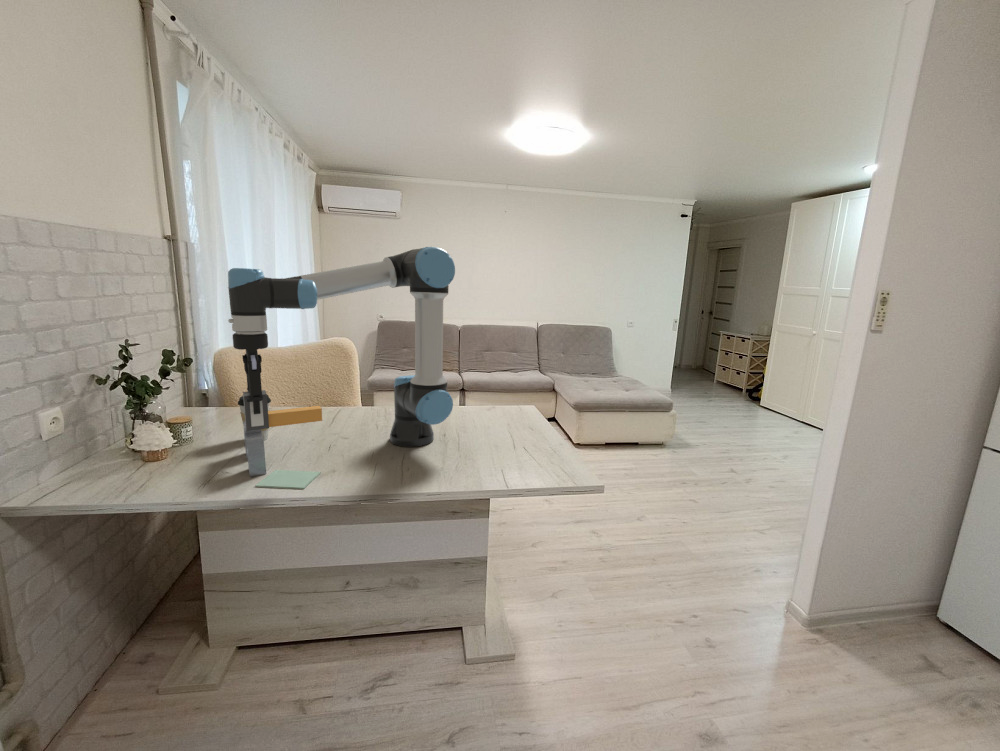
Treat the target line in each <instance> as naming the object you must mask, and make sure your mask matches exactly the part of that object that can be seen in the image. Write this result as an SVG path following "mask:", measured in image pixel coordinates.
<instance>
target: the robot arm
mask: <svg viewBox="0 0 1000 751" xmlns="http://www.w3.org/2000/svg"><path fill="white" fill-rule="evenodd" d="M227 272H228V273H227V279H228V282H227V284H228V286H227V288H228V297H229V298H228V299H229V309H230V316H231V318H228V320H227V321H228V323H229V324H230V323H231V328H232V329H231V330H232V332H234V333H233V334H232V346H233V348H234V349H235V350H239V351H240V350H245V353H244V355H243V354H242V362H243V366H244V372H245V374H246V375H245V376H246V385H247V387H246V390H247V391H246V392H248V391H250V399H249V400H247V402H250V413H251V426H252V427H254V426H262V425H264V419H263V405H262V399H263V396H262V377H261V376H262V375H261V373H262V362H263V360H262V356H261V354H258V350H263V349H266V348H268V347H269V341H268V340H269V338H268V337H269V336H268V334H267V333H266V331H268V318H267V317H268V316H267V309H288V310H289V309H294V310H295V309H296V310H297V309H299V310H300V309H301V310H305V309H308V310H309V309H314V308H316V307H317V304H318V301H319V300H323V299H324V300H325V299H328V298H332V297H333V298H334V297H338V296H343V295H348V294H353V293H357V292H362V291H363V292H364V291H367V290H372V289H377V288H382V287H388V286H389V287H391V288H392V289H393V288H399V287H409V294H411V296H413V298H414V342H415V343H414V356H415V357H414V359H415V360H414V362H415V363H414V365H415V368H414V372H415V374H412V375H410V374H409V375H401V376H398V377H396V378H395V379H394V382H393V384H394V386H393V394H394V395H393V396H394V398H393V399H394V400H393V401H394V421H393V424H392V427H391V430H390V433H389V441H390V443H391V444H393V445H395V446H397V447H405V448H412V447H413V448H414V447H422V446H426V445H428V444H430V443H432V442H433V441H434V439H435V437H434V435H435V434H434V430H433V428H432V425H439V424H441V423H442V422H444V421H446V420H447V419H448V417H450V415H451V413H452V411H453V408H454V407H453V406H454V400H453V398H452V396H451V395H450V393H449V392H448V380H447V378H446V377H444V375H443V371H444V370H443V365H444V364H443V362H444V360H443V357H444V356H443V355H444V348H443V347H444V344H443V343H444V299H445V298H446V297H447V296H448V295H449V285H450V284H451V283H452V281H453V280H454V278H455V275H456V266H455V262H454V260H453V258H452V256H451V255H450V254H449V253H448V252H447V251H446V250H445V249H443V248H440V247H436V246H425V247H422V248H416V249H414V248H413V249H410V250H408V251H405V252H402V253H399V254H395V255H392V256H386V257H384V258H383V260H381V261H377V262H371V263H366V264H359V265H354V266H353V265H352V266H349V267H343V268H337V269H330V270H326V271H325V270H324V271H320V272H314V273H313V272H312V273H308V274H302V275H299V276H297V275H296V276H291V277H285V278H283V277H281V278H277V277H275V278H274V277H273V278H272V277H265V274H264V271H263V270H262V269H259V268H245V267H244V268H242V267H241V268H240V267H233V268H230V269H229V270H228V271H227Z"/></svg>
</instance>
